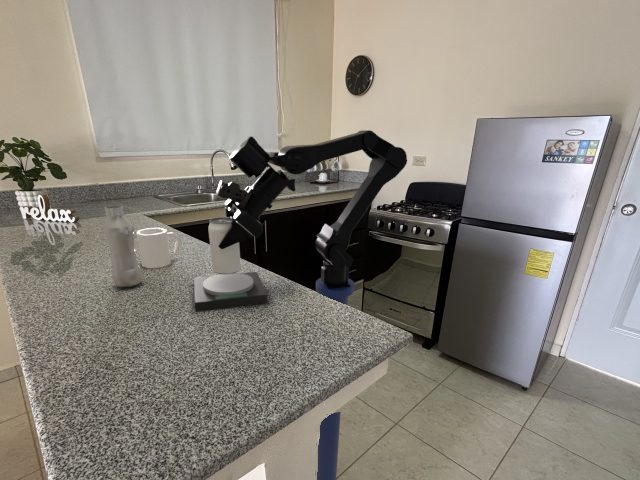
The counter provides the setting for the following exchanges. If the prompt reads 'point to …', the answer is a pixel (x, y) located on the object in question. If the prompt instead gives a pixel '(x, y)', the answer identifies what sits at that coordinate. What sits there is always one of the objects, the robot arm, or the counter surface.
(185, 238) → the counter surface
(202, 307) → the scale
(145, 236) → the mug
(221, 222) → the can
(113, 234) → the plastic bottle
